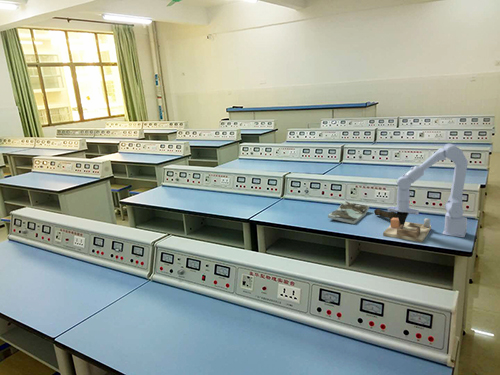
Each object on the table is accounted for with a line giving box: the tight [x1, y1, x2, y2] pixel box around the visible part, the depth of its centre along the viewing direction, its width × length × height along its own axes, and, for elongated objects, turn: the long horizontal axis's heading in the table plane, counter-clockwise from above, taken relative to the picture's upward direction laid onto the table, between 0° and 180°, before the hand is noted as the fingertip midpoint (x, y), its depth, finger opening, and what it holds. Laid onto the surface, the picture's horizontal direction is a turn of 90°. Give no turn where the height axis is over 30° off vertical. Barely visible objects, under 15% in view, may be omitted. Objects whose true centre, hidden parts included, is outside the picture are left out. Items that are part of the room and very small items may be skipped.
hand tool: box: [373, 208, 398, 221], centre depth 205 cm, size 19×4×5 cm, turn 12°
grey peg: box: [423, 217, 431, 228], centre depth 187 cm, size 3×3×4 cm
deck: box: [382, 221, 432, 243], centre depth 186 cm, size 18×20×5 cm
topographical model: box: [327, 200, 370, 225], centre depth 217 cm, size 26×15×5 cm, turn 145°
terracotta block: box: [390, 218, 400, 228], centre depth 190 cm, size 4×4×4 cm
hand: (402, 226), depth 188 cm, fingers closed
